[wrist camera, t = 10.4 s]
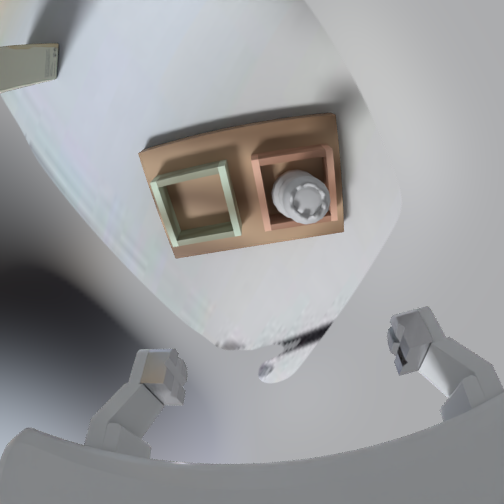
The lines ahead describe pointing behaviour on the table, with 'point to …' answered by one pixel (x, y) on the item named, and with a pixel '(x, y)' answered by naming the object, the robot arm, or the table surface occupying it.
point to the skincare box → (27, 65)
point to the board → (242, 183)
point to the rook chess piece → (301, 196)
